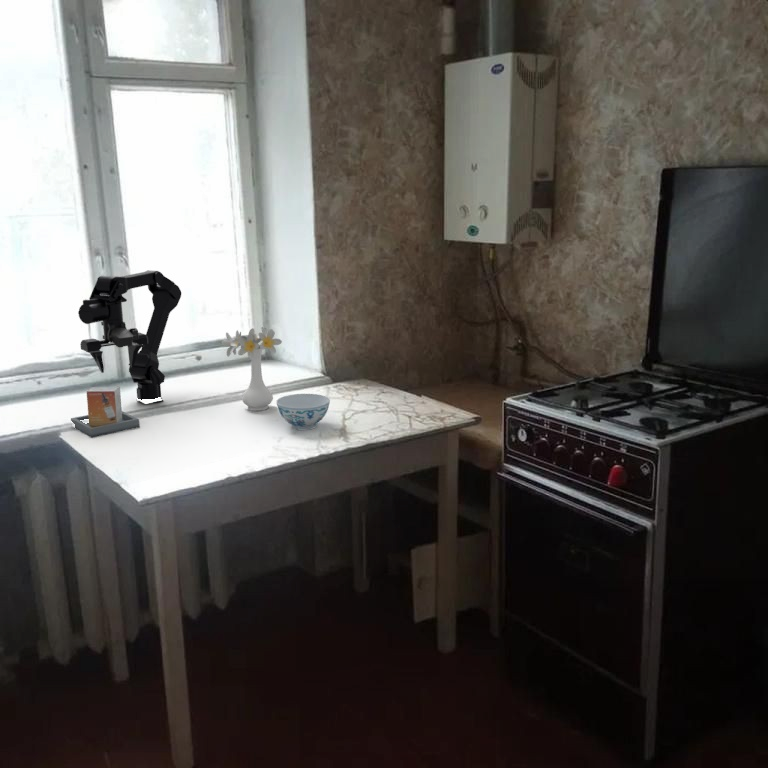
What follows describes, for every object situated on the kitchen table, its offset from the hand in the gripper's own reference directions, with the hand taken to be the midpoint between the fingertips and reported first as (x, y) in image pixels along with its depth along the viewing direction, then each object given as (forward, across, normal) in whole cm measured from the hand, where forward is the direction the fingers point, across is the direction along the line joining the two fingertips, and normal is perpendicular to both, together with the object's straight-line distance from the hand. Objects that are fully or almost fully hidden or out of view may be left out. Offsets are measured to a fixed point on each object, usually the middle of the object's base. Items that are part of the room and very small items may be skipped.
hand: (117, 370), depth 242 cm
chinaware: (+13, +32, -50) cm, 61 cm away
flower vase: (+13, +32, -25) cm, 43 cm away
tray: (+13, -10, -12) cm, 20 cm away
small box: (+12, -10, -12) cm, 20 cm away
